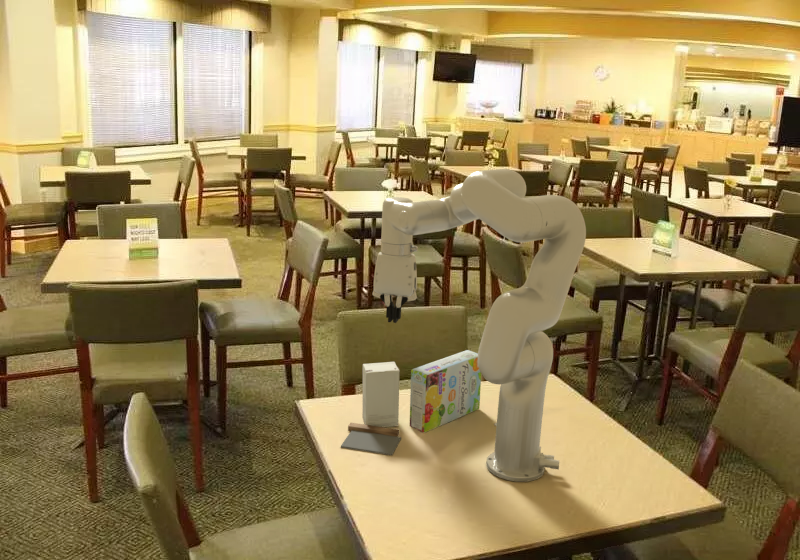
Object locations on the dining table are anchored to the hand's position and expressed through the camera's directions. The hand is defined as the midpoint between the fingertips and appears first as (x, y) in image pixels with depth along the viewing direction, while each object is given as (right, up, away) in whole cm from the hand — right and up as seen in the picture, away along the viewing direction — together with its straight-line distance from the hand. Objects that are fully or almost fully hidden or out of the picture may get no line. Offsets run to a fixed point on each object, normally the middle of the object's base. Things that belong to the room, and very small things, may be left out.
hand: (393, 320), depth 186 cm
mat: (-5, -27, -14) cm, 31 cm away
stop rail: (-5, -26, -9) cm, 28 cm away
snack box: (+13, -24, +1) cm, 28 cm away
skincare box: (-3, -25, -4) cm, 25 cm away
